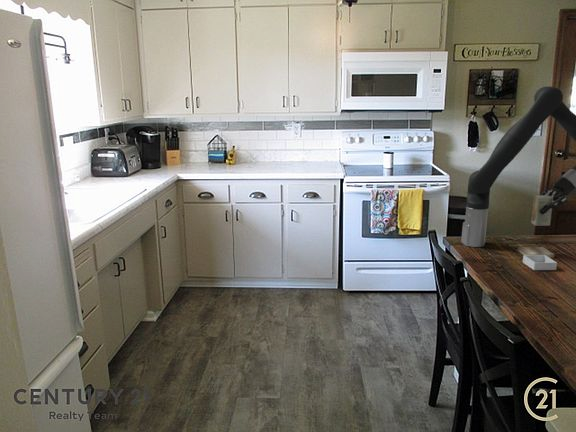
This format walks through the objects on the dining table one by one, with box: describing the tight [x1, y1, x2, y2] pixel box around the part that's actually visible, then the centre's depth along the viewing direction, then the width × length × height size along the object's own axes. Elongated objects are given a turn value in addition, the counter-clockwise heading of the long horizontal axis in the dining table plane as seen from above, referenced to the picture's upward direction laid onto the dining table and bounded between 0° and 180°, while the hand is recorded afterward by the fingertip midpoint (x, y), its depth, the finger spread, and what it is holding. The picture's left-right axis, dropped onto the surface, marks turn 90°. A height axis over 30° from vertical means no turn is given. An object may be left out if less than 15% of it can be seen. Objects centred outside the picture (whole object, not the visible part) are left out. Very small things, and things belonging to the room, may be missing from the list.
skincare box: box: [530, 194, 553, 227], centre depth 202 cm, size 6×4×12 cm
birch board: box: [517, 246, 555, 259], centre depth 207 cm, size 11×9×2 cm
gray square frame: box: [522, 254, 558, 271], centre depth 193 cm, size 9×9×3 cm
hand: (537, 211), depth 202 cm, fingers closed on skincare box, 4 cm apart
